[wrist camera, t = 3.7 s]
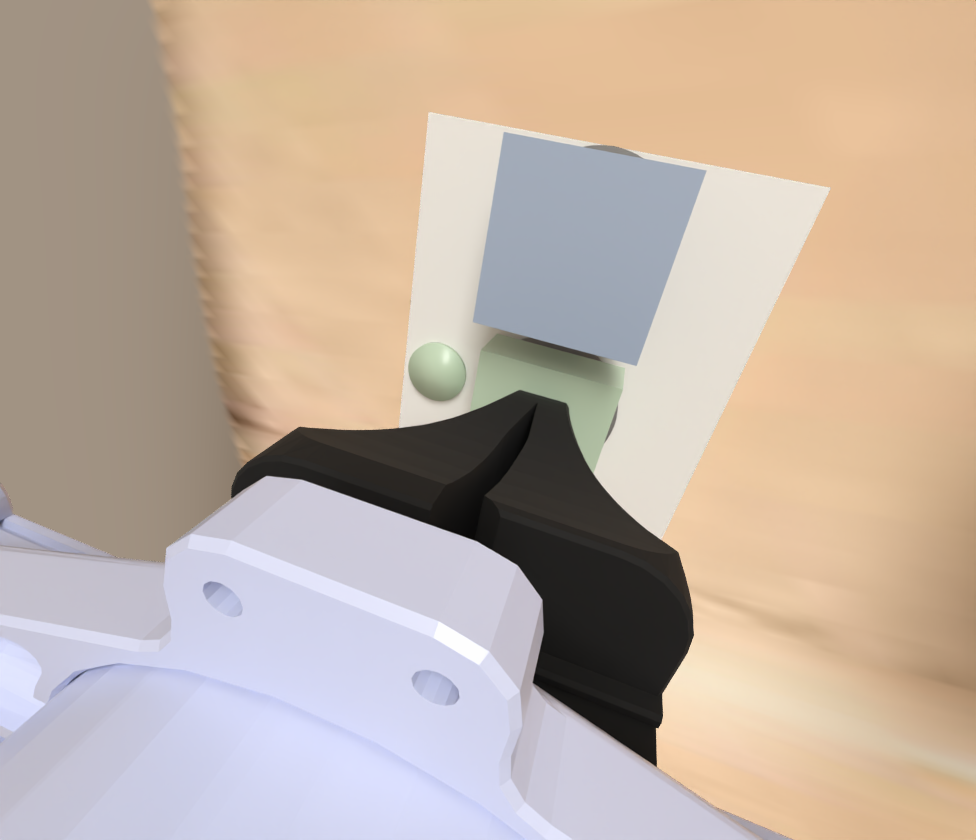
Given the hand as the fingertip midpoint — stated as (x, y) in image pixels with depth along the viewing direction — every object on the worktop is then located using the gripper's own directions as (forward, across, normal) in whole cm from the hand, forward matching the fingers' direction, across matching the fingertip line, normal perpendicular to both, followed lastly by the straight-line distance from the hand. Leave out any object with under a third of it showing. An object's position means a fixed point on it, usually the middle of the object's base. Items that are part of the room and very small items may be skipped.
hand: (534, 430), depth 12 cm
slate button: (0, 0, -5) cm, 5 cm away
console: (+4, 0, 0) cm, 4 cm away
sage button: (+1, 0, 0) cm, 1 cm away
